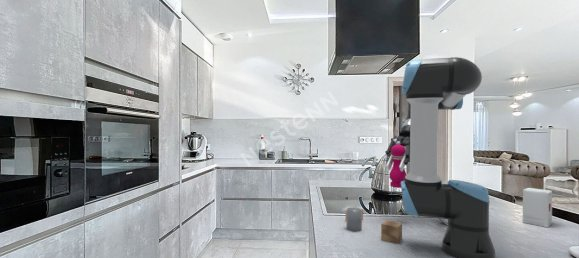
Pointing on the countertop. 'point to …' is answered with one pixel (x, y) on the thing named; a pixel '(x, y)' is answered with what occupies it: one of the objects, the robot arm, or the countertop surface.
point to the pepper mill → (397, 166)
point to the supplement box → (537, 207)
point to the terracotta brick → (346, 215)
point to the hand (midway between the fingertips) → (394, 168)
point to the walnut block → (391, 231)
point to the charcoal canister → (354, 219)
